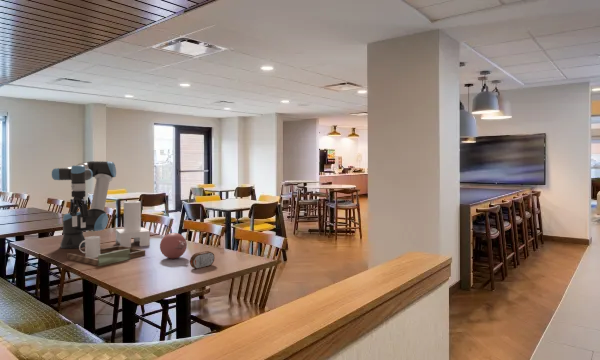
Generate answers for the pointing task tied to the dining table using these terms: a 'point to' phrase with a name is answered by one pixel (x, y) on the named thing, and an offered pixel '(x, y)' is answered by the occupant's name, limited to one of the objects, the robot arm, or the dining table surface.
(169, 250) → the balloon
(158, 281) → the dining table surface
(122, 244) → the white block stand
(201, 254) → the tin
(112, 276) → the dining table surface
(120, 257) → the wooden compartment tray
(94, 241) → the mug
